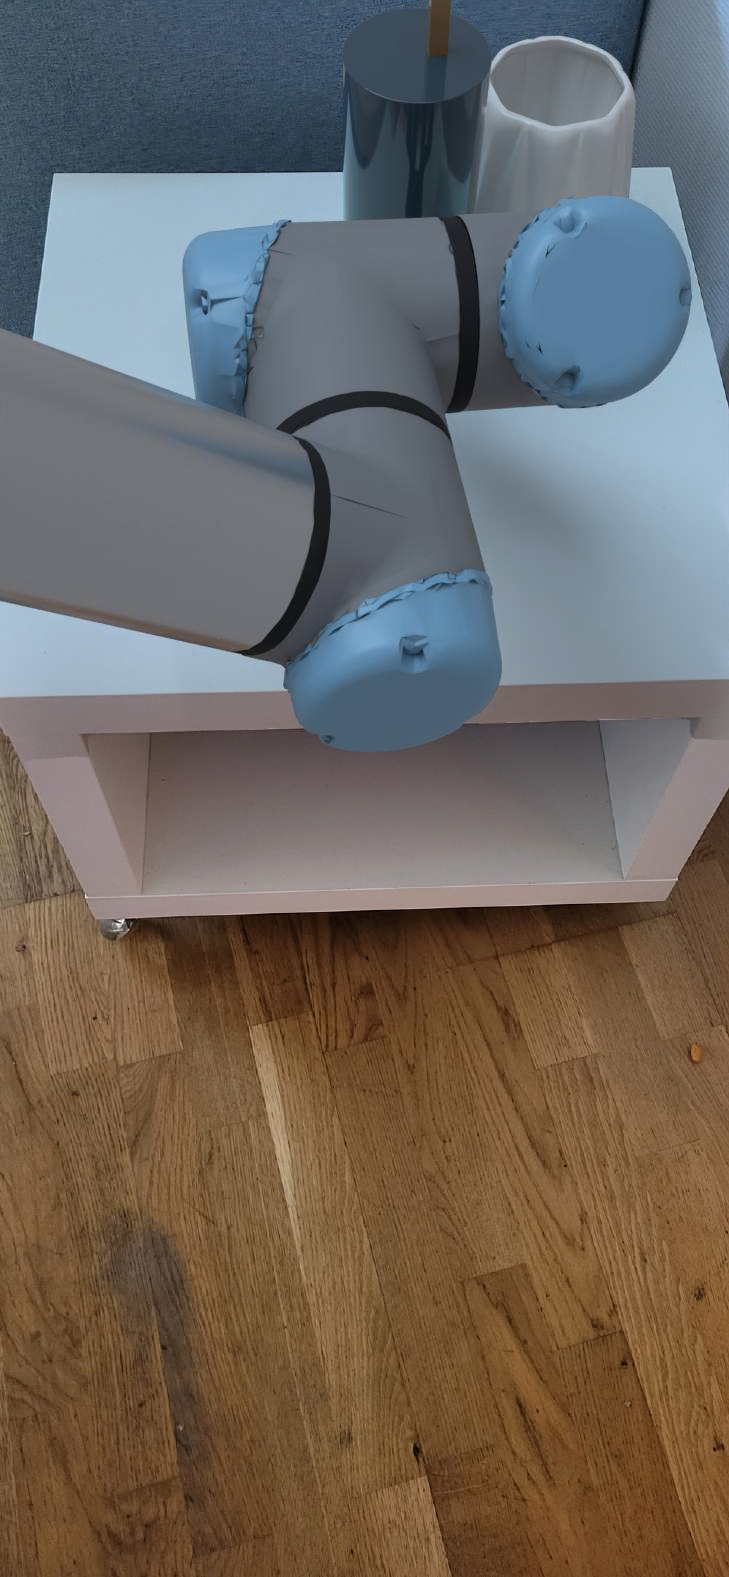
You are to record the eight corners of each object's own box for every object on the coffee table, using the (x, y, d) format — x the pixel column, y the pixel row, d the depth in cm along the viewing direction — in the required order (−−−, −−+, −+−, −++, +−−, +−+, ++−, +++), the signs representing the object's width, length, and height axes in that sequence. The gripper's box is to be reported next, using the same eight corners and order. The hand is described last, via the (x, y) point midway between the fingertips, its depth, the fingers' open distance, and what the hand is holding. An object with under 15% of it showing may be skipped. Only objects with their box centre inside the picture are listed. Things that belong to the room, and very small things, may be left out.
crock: (355, 390, 86) (357, -126, 56) (335, 304, 90) (326, -224, 59) (471, 374, 87) (537, -143, 56) (446, 290, 91) (495, -239, 60)
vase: (641, 242, 93) (691, 55, 80) (570, 354, 88) (611, 176, 74) (486, 184, 96) (509, -6, 82) (408, 290, 91) (418, 106, 77)
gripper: (620, 220, 56) (492, 266, 78) (361, 258, 55) (305, 294, 77) (630, 380, 59) (503, 381, 81) (383, 420, 58) (322, 410, 79)
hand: (407, 338), depth 79 cm, fingers closed
